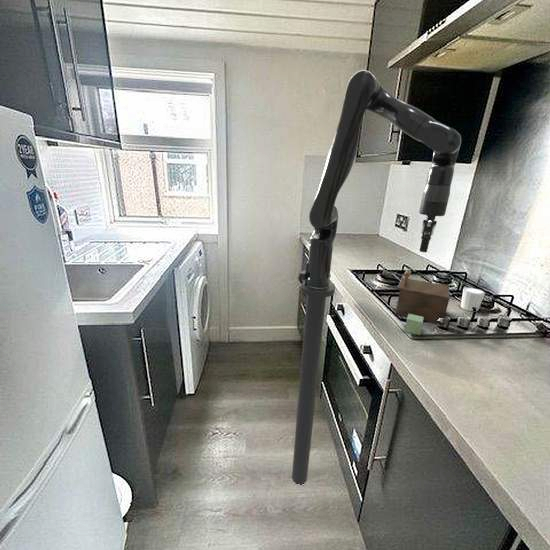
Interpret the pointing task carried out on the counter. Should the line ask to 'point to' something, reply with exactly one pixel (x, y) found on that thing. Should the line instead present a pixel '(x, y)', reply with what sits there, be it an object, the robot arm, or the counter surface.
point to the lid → (423, 287)
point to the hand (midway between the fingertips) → (423, 249)
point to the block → (414, 324)
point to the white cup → (471, 298)
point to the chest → (422, 306)
